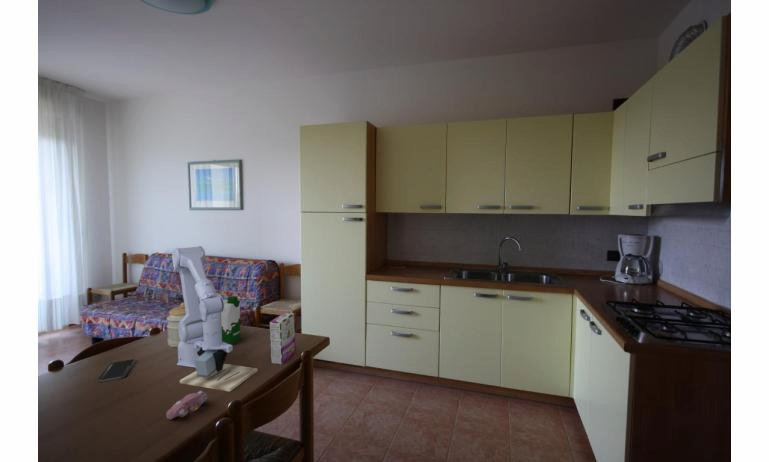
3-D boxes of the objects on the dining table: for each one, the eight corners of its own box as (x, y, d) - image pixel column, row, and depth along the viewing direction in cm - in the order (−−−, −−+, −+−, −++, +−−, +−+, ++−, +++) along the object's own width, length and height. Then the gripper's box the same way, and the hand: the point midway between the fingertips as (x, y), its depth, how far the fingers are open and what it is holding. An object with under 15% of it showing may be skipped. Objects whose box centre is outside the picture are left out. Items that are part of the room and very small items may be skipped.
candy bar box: (284, 351, 137) (283, 312, 136) (295, 352, 136) (295, 313, 135) (270, 363, 126) (268, 321, 125) (282, 365, 125) (281, 322, 124)
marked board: (179, 383, 112) (179, 380, 112) (211, 364, 126) (211, 361, 126) (229, 391, 107) (229, 388, 107) (257, 371, 120) (257, 368, 120)
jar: (191, 348, 141) (189, 306, 140) (160, 347, 141) (158, 306, 140) (207, 336, 154) (206, 298, 153) (179, 336, 154) (178, 298, 153)
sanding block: (197, 376, 112) (194, 360, 111) (213, 362, 119) (211, 347, 118) (207, 377, 111) (205, 361, 110) (223, 363, 119) (221, 348, 118)
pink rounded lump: (171, 428, 91) (177, 410, 89) (163, 416, 93) (168, 398, 91) (206, 410, 100) (212, 392, 98) (198, 399, 102) (203, 382, 100)
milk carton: (233, 346, 142) (231, 300, 141) (213, 345, 144) (211, 299, 142) (244, 338, 151) (243, 295, 150) (225, 337, 152) (224, 294, 151)
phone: (96, 380, 112) (110, 362, 126) (96, 384, 113) (111, 365, 126) (125, 376, 116) (136, 358, 129) (125, 379, 116) (136, 361, 129)
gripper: (186, 333, 114) (187, 372, 115) (221, 337, 110) (222, 377, 111) (202, 326, 121) (203, 363, 122) (236, 330, 117) (237, 368, 118)
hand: (214, 369), depth 117 cm, fingers closed on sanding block, 4 cm apart
